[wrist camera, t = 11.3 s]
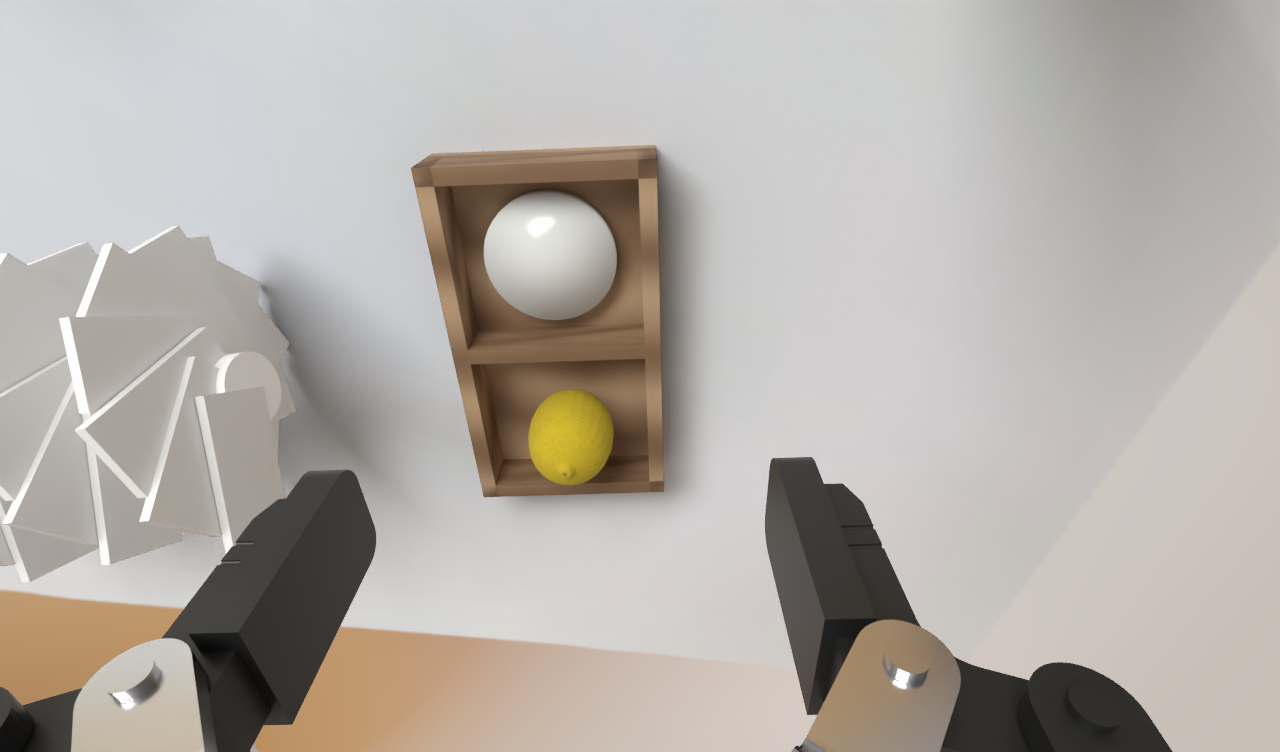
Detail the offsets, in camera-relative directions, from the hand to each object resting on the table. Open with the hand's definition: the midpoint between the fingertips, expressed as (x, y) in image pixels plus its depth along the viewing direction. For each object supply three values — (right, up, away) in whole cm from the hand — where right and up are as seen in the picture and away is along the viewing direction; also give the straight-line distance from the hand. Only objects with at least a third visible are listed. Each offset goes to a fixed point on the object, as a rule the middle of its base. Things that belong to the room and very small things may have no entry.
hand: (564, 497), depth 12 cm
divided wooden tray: (-4, +6, +29) cm, 30 cm away
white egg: (-4, +10, +26) cm, 28 cm away
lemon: (-3, +1, +32) cm, 32 cm away
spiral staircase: (-32, +5, +30) cm, 44 cm away
